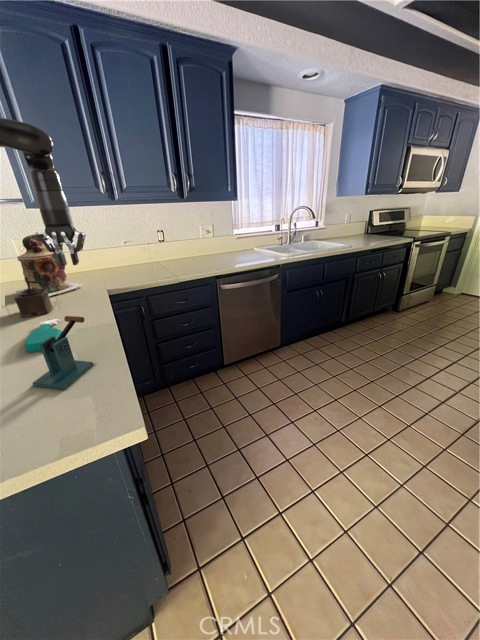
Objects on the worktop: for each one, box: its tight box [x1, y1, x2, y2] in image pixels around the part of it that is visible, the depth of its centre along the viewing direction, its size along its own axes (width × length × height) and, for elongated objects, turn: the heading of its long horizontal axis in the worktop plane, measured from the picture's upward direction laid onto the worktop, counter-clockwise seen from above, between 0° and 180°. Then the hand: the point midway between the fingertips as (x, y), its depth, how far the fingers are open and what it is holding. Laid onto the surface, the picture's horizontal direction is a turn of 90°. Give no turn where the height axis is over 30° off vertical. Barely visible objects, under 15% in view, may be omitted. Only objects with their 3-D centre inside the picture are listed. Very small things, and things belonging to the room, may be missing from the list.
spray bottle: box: [24, 318, 63, 353], centre depth 101 cm, size 3×11×24 cm
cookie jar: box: [15, 231, 83, 298], centre depth 145 cm, size 25×25×32 cm
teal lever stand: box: [32, 336, 94, 391], centre depth 76 cm, size 12×10×12 cm
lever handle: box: [46, 315, 86, 352], centre depth 78 cm, size 12×6×2 cm, turn 170°
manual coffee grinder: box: [14, 274, 53, 318], centre depth 121 cm, size 16×11×18 cm
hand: (70, 264), depth 87 cm, fingers open, 3 cm apart
